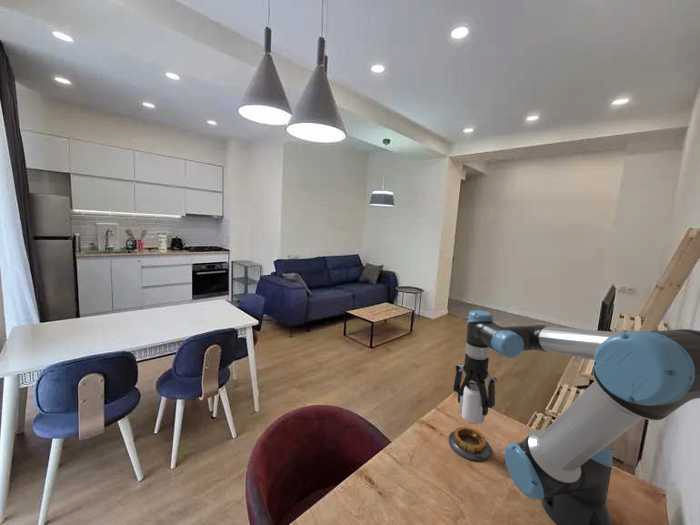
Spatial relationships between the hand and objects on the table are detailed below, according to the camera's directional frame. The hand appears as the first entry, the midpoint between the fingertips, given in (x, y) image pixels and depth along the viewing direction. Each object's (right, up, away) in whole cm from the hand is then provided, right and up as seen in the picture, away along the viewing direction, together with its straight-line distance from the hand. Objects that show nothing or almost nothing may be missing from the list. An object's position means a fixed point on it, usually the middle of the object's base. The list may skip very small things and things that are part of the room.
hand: (471, 416), depth 103 cm
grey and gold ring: (0, -11, +1) cm, 11 cm away
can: (0, -1, 0) cm, 1 cm away
